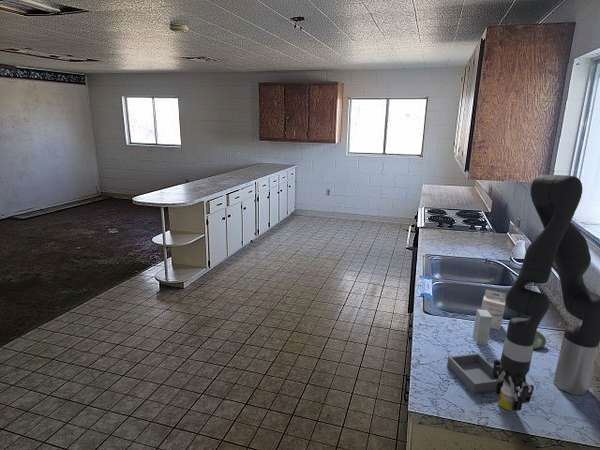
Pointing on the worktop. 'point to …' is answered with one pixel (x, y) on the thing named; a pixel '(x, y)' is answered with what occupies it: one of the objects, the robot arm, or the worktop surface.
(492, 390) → the tray
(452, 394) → the worktop surface
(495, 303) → the ink cartridge box
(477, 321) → the skincare box
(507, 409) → the supplement bottle
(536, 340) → the lid
